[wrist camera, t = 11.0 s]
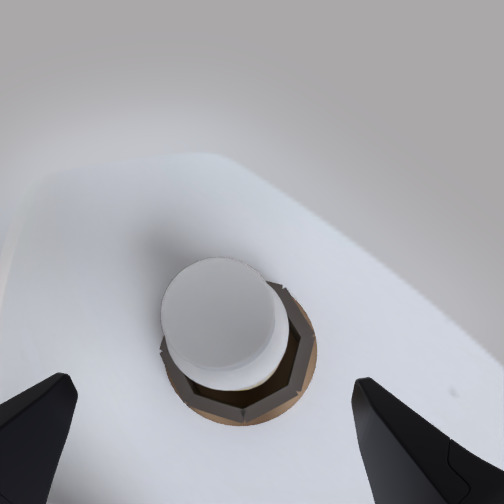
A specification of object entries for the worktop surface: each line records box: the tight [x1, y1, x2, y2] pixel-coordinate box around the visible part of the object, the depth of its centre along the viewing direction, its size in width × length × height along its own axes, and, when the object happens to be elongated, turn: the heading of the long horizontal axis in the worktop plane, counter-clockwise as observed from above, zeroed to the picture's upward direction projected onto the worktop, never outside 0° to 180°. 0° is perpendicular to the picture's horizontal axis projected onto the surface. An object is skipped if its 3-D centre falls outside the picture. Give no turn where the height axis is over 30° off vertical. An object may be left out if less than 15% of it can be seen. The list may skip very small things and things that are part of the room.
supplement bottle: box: [160, 257, 289, 391], centre depth 14 cm, size 5×5×10 cm
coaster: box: [160, 281, 317, 426], centre depth 18 cm, size 10×10×3 cm
